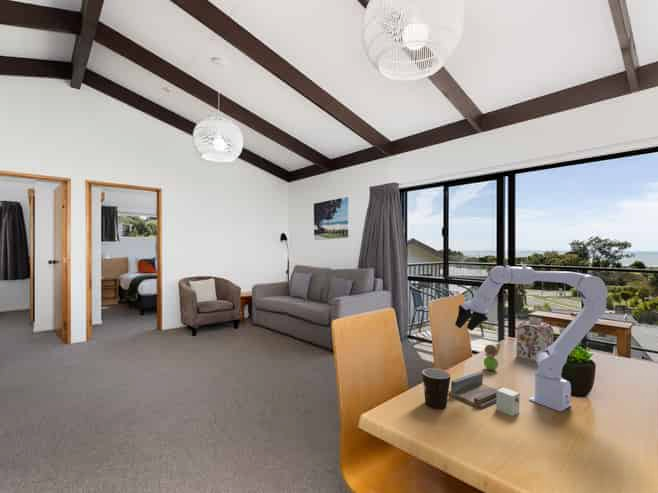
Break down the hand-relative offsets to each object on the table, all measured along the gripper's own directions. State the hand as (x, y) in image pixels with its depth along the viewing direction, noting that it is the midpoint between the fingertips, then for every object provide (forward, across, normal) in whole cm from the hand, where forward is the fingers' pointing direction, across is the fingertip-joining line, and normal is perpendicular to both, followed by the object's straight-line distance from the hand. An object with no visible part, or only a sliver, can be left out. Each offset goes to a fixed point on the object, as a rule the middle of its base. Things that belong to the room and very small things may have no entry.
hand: (463, 327), depth 123 cm
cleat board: (+16, -3, +16) cm, 23 cm away
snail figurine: (+14, -30, +4) cm, 33 cm away
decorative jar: (+5, -60, +4) cm, 60 cm away
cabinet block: (+12, -1, +26) cm, 28 cm away
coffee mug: (+22, +15, +15) cm, 30 cm away
